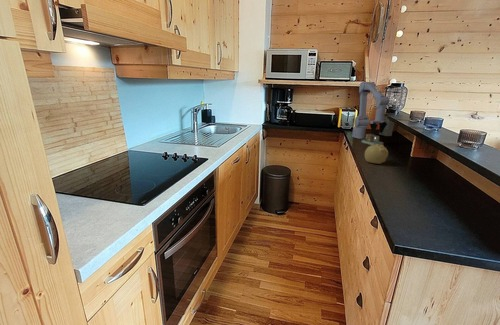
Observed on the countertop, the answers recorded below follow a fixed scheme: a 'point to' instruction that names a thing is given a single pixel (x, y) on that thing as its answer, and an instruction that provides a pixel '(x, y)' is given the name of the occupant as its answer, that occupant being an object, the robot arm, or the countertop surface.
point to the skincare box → (388, 128)
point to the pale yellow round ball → (376, 154)
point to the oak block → (369, 137)
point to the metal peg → (376, 139)
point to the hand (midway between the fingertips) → (377, 133)
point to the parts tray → (371, 142)
